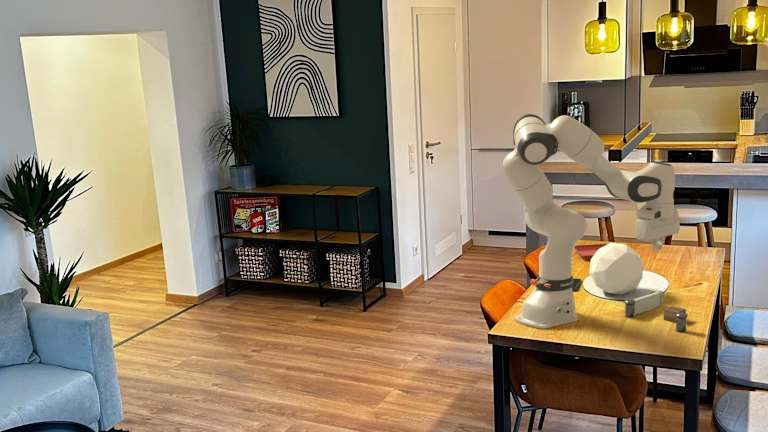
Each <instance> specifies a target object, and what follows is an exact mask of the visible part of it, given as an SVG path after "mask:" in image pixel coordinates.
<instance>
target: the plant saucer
mask: <svg viewBox="0 0 768 432" xmlns="http://www.w3.org/2000/svg"><path fill="white" fill-rule="evenodd" d="M608 244H609V243H598V244H597V243H596V244H594V243H593V244H580V245H579V244H576V245H575V247H574V250H575V252H576V253H577V254H578V255H579V256H580V258H581V259H582V260H583V261H591V259H592V257H593V256H594V255H595V253H596V252H597V251H598V250H599V249H600V248H602V247H604V246H606V245H608Z"/></svg>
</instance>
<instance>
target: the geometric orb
mask: <svg viewBox="0 0 768 432" xmlns="http://www.w3.org/2000/svg"><path fill="white" fill-rule="evenodd" d="M607 244H608V245H606V246H604V247H602V248H600V249H599V250H598V251H597V252H596V253H595V255H594V256H593V257H592V259H591V260H590V262H589V263H590V264H589V273H588V274H589V275H590V277H591V279H592V281H593V282H594V285H595V286H596V287H598V288H599V289H600V290H602V291H604V292H605V293H608V294H613V295H619V296H623V295H625V294H627V293H629V292H630V291H633V290H634V289H636V288H637V286H638V285H639V283H640V282H641V280H642V279H643V275H644V274H643V273H644V266H645V264H644V262H643V260H642V259H641V257H640V256H639V254H638V252H637V251H636V250H634V249H633V248H632V247H630V246H629V245H627V244H623V243H614V242H609V243H607Z"/></svg>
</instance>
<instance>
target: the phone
mask: <svg viewBox="0 0 768 432" xmlns="http://www.w3.org/2000/svg"><path fill="white" fill-rule="evenodd" d="M581 283H582V279H581V278H574V277H573V287H572V291H573V293H575V292H578V291H579V288H580V286H581Z"/></svg>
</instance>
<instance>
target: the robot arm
mask: <svg viewBox="0 0 768 432" xmlns="http://www.w3.org/2000/svg"><path fill="white" fill-rule="evenodd" d="M512 133H513V134H512V135H513V138H512V139H513V140H512V141H513V142H512V143H513V146H514V149H513V150H512V151H510V152H509V153H508V154H507V155H506V156H504V159H503V160H502V161H503V162H502V168H503V170H504V173H505V176H506V178H507V180H508V182H509V183H510V185H511V187H512V188H513V191H515V193H516V194H517V196H518V198H519V199H520V201H521V203H522V204H523V206H524V208H525V211H526V212H525V215H524V216H525V217H524V221H525V224H526V226H527V227H528V228H530V230H532V231H533V232H534V233H537V234H540V235H543V236H544V237H545V236H546V237H547V243H546V246H545V248H544V249H542V250H541V251H540V252H539V255H538V276H537V278H536V279H535V278H531V279H530V282H529V284H531V286H535V288H534V289H533V290H532V291H531V293H529V295H528V296H527V297H526V298H525V300H524V301H523V302H522V306H521V307H522V308H521V312H520V313H519V314H517V315H515V316H514V320H515V321H517V323H519V324H522V325H525V326H528V327H532V328H536V329H542V330H543V329H545V330H546V329H550V328H553V327H559V326H561V325H565V324H569V323H573V322H574V323H575V322H576V321H577V322H578V321H579V317H578V315H577V310H576V309H577V308H576V299H575V295H574V292H573V291H572V287H573V278H574V277H573V275H572V273H573V272H572V271H573V267H572V266H573V264H572V263H573V253H574V250H575V249H574V247H575V246H576V245H577V244H578V243H577V242H578V241H580V239H582V238H583V237H584V236H585V234H586V231H587V227H588V226H587V225H588V224H587V220H586V218H585V216H584V215H583V214H581V213H580V212H578V211H576V210H574V209H572V208H570V207H569V208H568V207H563V206H561V205H558V204H556V202H554V200H553V198H552V197H553V194H554V188H553V186H552V184H551V182H550V181H549V179H548V178H547V176H546V173H544V171H543V170H542V168H541V167H540V165H541V164H543V163H545V162H546V161H548V159H550V157H552V156H554V155H555V154H557V152H558V151H560V152H561V153H563V154H564V155H565V156H566V157H568V158H570V160H572V161H573V162H576V163H577V164H579V165H581V166H583V167H585V168H587V170H589V171H590V172H591V173H593V174H594V175H595V176H596V177H597V178H598V179H600V180H601V181H602V182H603V184H604V186H605V188H606V190H607V192H608V193H609V194H610V195H611V196H612V197H613V198H616V199H623V200H624V201H625V200H626V201H629V202H632V203H638V204H640V203H645V204H643V206H642V207H640V208H639V209H637V210H636V212H635V217H636V218H637V219H636V221H635V238H636V240H637V241H639V242H645V243H646V242H649V241H650V243H651V245H652V250H653V251H655V252H658V251H661V250H663V245H664V243H665V240H666V237H668V236H673V235H676V234H679V232H680V227H681V225H680V224H681V223H680V214H679V213H678V212H679V211H678V209H677V208H676V207H675V206H674V205H675V204H674V203H675V199H674V191H675V187H676V175H675V169H674V166H673V165H672V164H670V163H666V162H659V161H651V162H649V163H648V165H647V166H645V167H644V168H642V169H640V170H638V171H636V172H634V171H631V170H628V169H624V168H619V167H616V165H614V164H613V163H612V162H610V161H609V160H608V159H607V158H606V157H605V156H604V151H605V143H604V141H603V139H601V137H600V136H599V134H597V133H596V132H594V131H593V130H592V129H591V128H590V127H588V126H587V125H585V124H584V123H582V122H581V121H579V120H577V119H576V118H574V117H571V116H569V115H566V114H565V115H560V116H557V117H556V118H555V119H553V121H552V122H550V123H547V124H546V122H545V121H544V120H543V119H542V118H541V117H540V116H538V115H537V114H533V113H526V114H524V115H521V116H519V118H517V120H516V122H514V128H513V131H512Z"/></svg>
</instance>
